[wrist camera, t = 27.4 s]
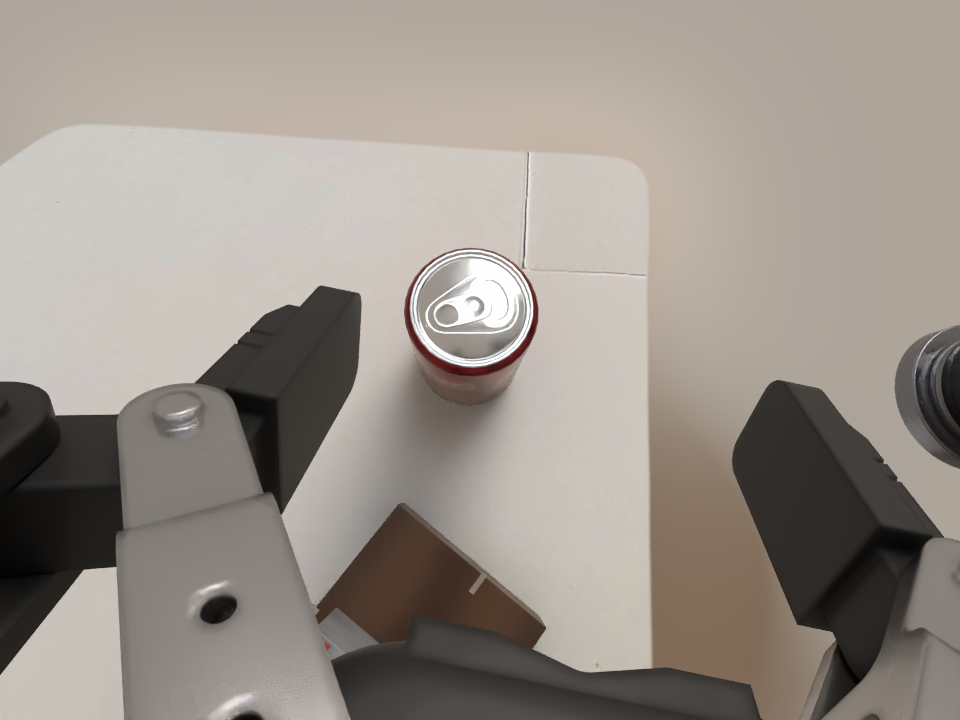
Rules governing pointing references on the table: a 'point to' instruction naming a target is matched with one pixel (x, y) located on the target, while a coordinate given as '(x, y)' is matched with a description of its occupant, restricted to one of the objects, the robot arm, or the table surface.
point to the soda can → (470, 323)
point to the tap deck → (423, 586)
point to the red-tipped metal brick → (343, 634)
